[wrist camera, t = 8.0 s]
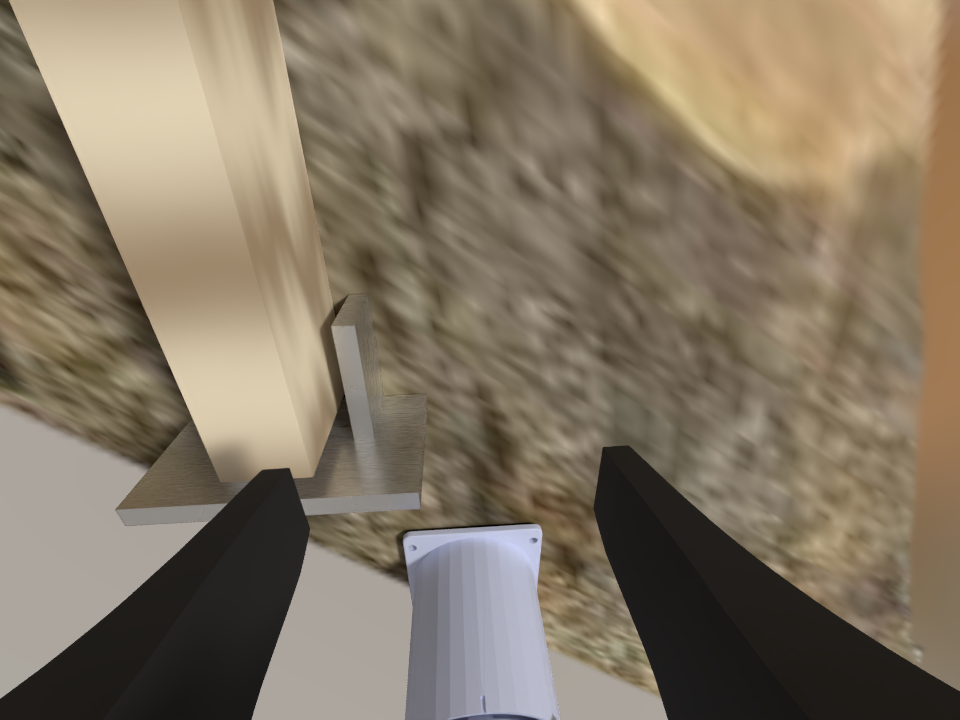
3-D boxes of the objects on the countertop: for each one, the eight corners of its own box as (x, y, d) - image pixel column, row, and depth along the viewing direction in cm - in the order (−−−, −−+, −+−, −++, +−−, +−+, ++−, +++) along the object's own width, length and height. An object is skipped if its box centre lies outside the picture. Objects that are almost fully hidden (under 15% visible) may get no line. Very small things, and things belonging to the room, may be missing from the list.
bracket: (428, 415, 20) (421, 518, 15) (214, 426, 20) (131, 535, 15) (417, 292, 17) (404, 368, 12) (162, 300, 17) (34, 383, 12)
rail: (348, 380, 19) (312, 477, 14) (281, 383, 19) (220, 482, 14) (269, -24, 12) (141, -126, 7) (162, -25, 12) (-48, -129, 7)
